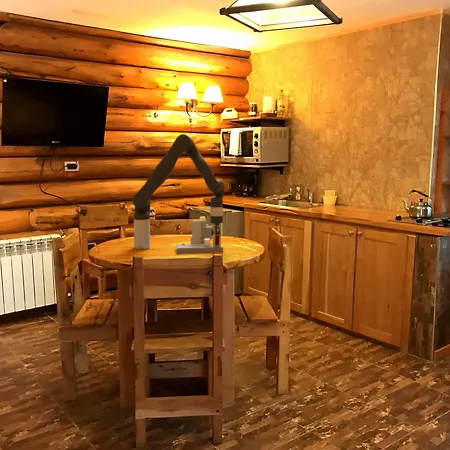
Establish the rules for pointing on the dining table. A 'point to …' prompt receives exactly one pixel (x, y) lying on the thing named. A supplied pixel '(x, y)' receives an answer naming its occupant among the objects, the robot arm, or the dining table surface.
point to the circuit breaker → (200, 231)
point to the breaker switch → (207, 242)
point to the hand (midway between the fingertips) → (216, 244)
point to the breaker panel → (198, 248)
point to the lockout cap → (214, 241)
